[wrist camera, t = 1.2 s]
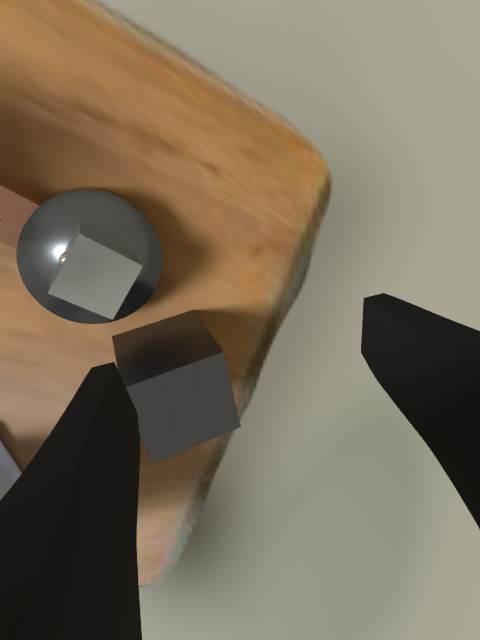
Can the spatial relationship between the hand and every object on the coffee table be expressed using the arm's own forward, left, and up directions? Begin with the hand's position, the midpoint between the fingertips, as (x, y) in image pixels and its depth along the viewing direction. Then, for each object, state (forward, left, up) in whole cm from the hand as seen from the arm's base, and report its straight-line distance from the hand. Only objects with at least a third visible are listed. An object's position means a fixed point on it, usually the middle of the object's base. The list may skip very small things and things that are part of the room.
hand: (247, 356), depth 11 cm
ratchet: (+3, +6, -14) cm, 15 cm away
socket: (-7, +2, -14) cm, 16 cm away
